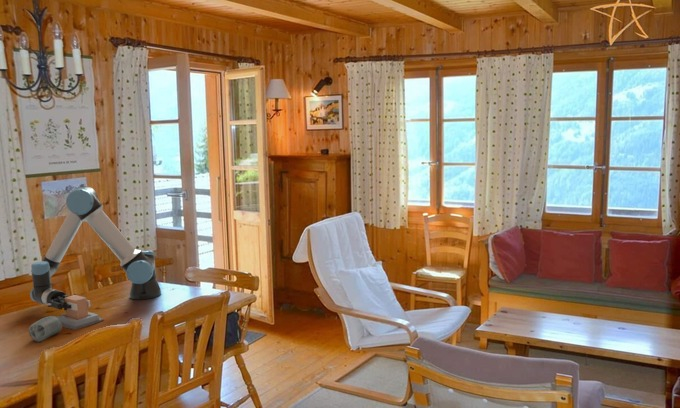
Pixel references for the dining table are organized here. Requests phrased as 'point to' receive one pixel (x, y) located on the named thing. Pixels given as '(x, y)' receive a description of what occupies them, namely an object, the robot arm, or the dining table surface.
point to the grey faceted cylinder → (45, 328)
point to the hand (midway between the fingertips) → (82, 305)
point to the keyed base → (79, 321)
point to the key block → (81, 307)
